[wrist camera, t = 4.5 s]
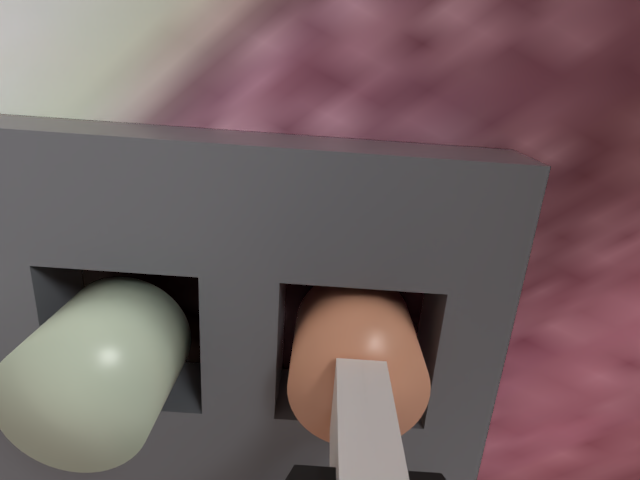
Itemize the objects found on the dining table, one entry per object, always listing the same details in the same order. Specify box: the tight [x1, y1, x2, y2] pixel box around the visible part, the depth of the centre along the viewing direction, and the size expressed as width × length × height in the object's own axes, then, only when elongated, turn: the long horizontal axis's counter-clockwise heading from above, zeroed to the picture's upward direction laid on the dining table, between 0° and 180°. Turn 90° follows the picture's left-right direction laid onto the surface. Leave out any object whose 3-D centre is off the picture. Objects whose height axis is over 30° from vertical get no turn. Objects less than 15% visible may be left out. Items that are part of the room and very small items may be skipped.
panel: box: [0, 114, 551, 480], centre depth 17 cm, size 14×26×3 cm, turn 86°
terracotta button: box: [287, 286, 431, 443], centre depth 16 cm, size 4×4×4 cm
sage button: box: [0, 277, 191, 473], centre depth 15 cm, size 4×4×4 cm
